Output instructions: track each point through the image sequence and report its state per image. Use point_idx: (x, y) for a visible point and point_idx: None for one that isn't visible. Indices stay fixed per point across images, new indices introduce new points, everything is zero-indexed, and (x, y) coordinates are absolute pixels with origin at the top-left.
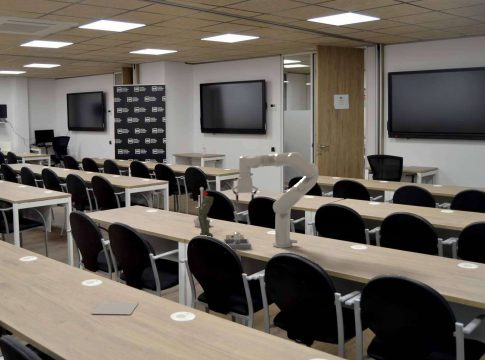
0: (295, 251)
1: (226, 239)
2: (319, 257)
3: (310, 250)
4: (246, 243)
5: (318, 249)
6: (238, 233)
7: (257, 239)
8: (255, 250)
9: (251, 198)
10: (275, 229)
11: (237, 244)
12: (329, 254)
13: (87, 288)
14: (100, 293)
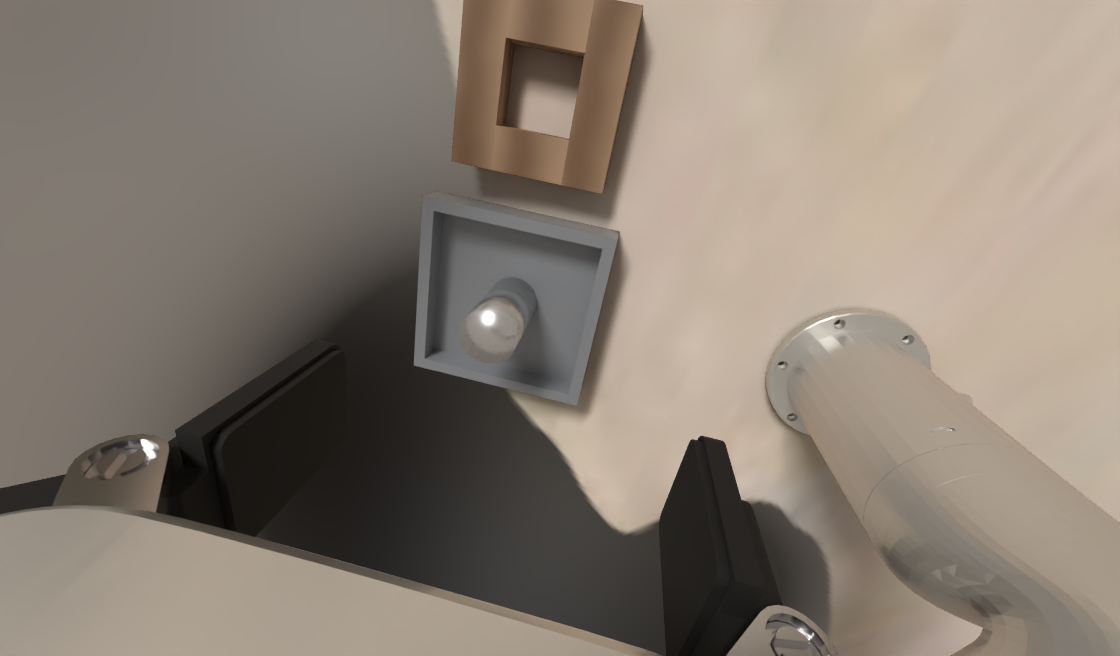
0: (831, 513)
1: (442, 212)
2: (878, 632)
3: None
4: (594, 274)
5: None
6: (497, 357)
7: (754, 108)
8: (605, 423)
9: (698, 480)
10: (835, 441)
11: (497, 379)
12: None
13: None
14: None
